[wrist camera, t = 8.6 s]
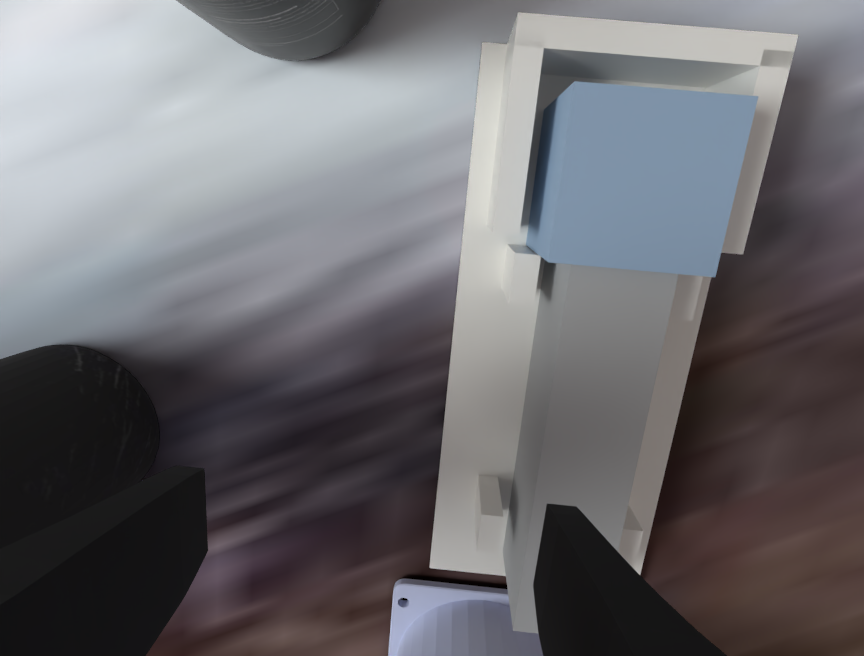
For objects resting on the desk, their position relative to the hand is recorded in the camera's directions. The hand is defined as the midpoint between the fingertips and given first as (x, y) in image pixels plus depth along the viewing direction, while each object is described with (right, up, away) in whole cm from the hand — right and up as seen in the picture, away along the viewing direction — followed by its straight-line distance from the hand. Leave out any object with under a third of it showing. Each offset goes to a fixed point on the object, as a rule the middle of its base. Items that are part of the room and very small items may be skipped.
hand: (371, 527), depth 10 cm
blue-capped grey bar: (+7, +4, +8) cm, 11 cm away
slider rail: (+7, +4, +9) cm, 12 cm away
